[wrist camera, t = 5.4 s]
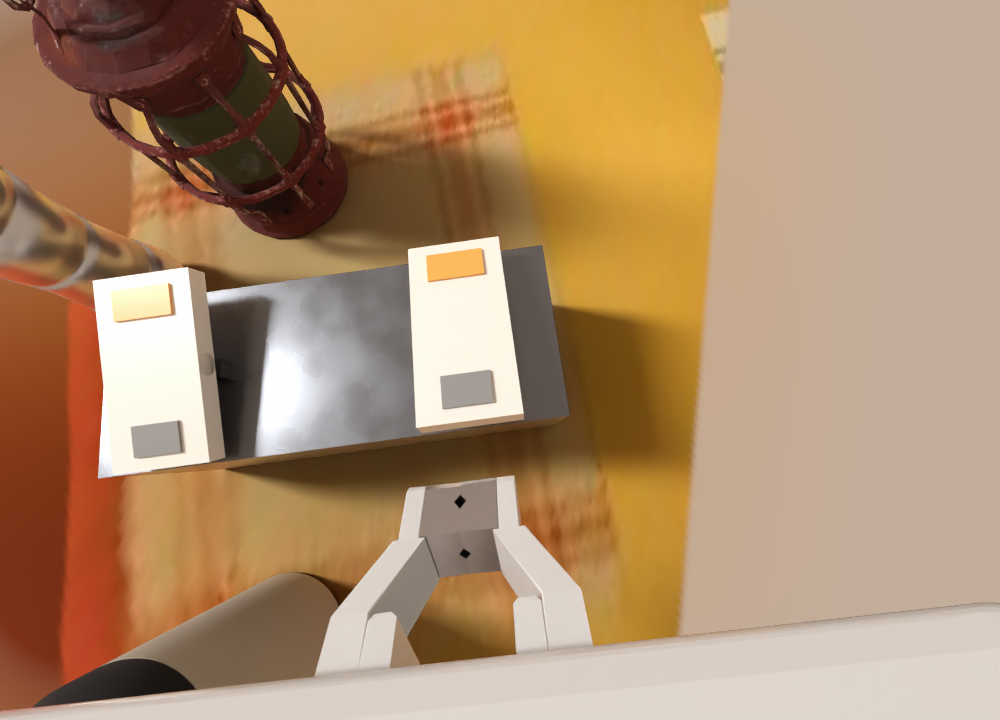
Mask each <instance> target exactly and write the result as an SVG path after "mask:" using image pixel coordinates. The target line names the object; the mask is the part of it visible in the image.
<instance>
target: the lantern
mask: <svg viewBox="0 0 1000 720" xmlns="http://www.w3.org/2000/svg"><path fill="white" fill-rule="evenodd" d="M3 1H4V2H5V3H6V4H8V5H9V6H10V7H11V8H12V9H14V10H21V11H30V10H33V11H34V16H33V21H32V24H33V36H34V44H35V46H36V48H37V50H38V52H39V54H40V56H41V58H42V61H43V63H44V65H45V66H46V67H47V68H48V69H49V70H50V71H52V72H53V73H54V74H55V75H56V76H57V77H58V78H60V79H61V80H63V81H64V82H66V83H67V84H69V85H70V86H72V87H74V88H75V89H76V90H78V91H82V92H86V93H90V94H91V97H90V105H91V108H92V110H93V113H94V115H95V117H96V118H97V119H98V120H99V121H100V122H101V123H102V124H103V125H105V126H106V128H107V129H108V130H109V131H110V132H111V133H112V134H113V135H114V136H115V137H116V138H117V139H118V140H122V141H123V142H124V143H125V144H126V145H128V146H130V147H131V148H133V149H135V150H137V151H139V152H141V153H143V154H144V155H145V156H147V157H148V158H149V159H151V160H152V161H153V162H155V163H156V164H157V165H159V166H160V167H161V168H162V169H164V170H165V171H166V172H168V173H169V174H168V175H170V176H171V177H172V179H173V180H174V181H175V182H176V183H177V184H178V185H179V186H180V187H181V188H182V189H183V190H184V189H185V190H186V191H188V192H189V193H190V194H191V195H193V196H195V197H197V198H199V199H201V200H204V201H207V202H210V203H213V204H218V205H223V206H225V207H231V208H232V209H233V210H234V211H235V213H236V214H237V216H238V217H239V218H240V220H241V221H242V222H243V223H244V224H245V225H247V226H248V227H249V228H250V229H252V230H253V231H255V232H258V233H260V234H263V235H267V236H270V237H275V238H292V237H297V236H301V235H305V234H307V233H309V232H311V231H313V230H315V229H317V228H318V227H320V226H322V225H323V224H324V223H325V222H326V221H328V220H329V219H330V218H331V217H332V216H333V214H334V213H335V212H336V211H337V209H338V208H339V207H340V205H341V203H342V200H343V197H344V195H345V192H346V189H347V169H346V165H345V161H344V159H343V158H342V156H341V154H340V152H339V151H338V150H337V149H336V148H335V146H334V145H333V144H332V143H331V142H329V141H328V139H327V137H326V135H325V134H324V132H325V128H326V126H325V124H324V114H323V110H322V106H321V103H320V101H319V99H318V97H317V95H316V94H315V92H314V91H313V89H312V88H311V84H310V83H309V82H308V81H307V80H306V79H305V78H304V77H303V75H302V74H300V72H299V71H298V69H297V67H296V66H295V64H294V62H293V60H292V59H291V57H290V55H289V54H288V52H287V50H286V45H285V42H284V39H283V37H282V35H281V33H280V30H279V29H278V27H277V26H276V24H275V23H274V22H273V17H272V16H270V15H269V14H268V13H266V11H265V9H264V8H263V6H262V5H261V3H260V2H259V1H258V0H248V1H246V0H37V4H36V8H34V7H33V5H34V3H35V0H26V1H23V0H20V1H21V2H22V3H21V4H19V3H17V2H15V1H13V0H3ZM237 8H239V9H242V10H244V11H246V12H248V13H249V14H251V15H253V16H255V17H256V18H257V19H258V20H259V21H260V22H261V23H262V24H263V26H264V27H265V29H266V30H267V32H269V33H270V35H271V37H272V38H273V40H274V43H275V47H276V51H277V57H276V56H275V55H274V53H273V52H272V51H271V50H269V49H268V48H267V47H265V46H264V45H263V44H261V43H260V42H259V41H257V40H255V39H253V38H251V37H249V36H247V35H245V34H243V27H242V25H241V22H240V20H239V17H238V15H237ZM248 45H250V46H252V47H254V48H256V49H258V50H259V51H260V52H262V53H263V54H264V55H266V56H267V57H268V58H269V60H270V61H271V63H272V64H270V63H264V62H261V61H259V60H258V58H257V57H256V55H255V54H254V53H253V51H252V50H251V48H250V47H249V46H248ZM287 63H288V64H287ZM288 65H289V66H290V68H291V70H292V71H291V70H290V69H289V67H288ZM268 73H275V75H274V78H273V79H272V78H271V76H270V75H269V74H268ZM292 81H293V82H294V83H296V84H297V85H298V86H299V87H300V88H301V89H302V90H303V92H304V93H305V95H306V96H307V98H308V100H309V102H310V104H311V113H310V112H309V110H308V108H307V107H306V105H305V103H304V101H303V100H302V98H301V96H300V95H299V93H298V91H297V90H296V88H295V86H294V84H293V83H292ZM285 84H286V85H287V87H288V88H289V90H290V91H291V93H292V95H293V96H294V98H295V99H296V101H297V102H298V104H299V106H300V107H301V109H302V110H303V112H304V113H305V115H306V117H307V118H308V120H309V121H310V123H309V122H308V121H306V120H305V119H304V118H302V117H301V116H299V115H298V114H296V113H294V112H293V110H292V109H291V107H290V105H289V103H288V101H287V99H286V98H285V96H284V95H283V94H282V90H283V87H284V85H285ZM109 98H110V99H111V98H117V99H118V100H120V101H122V102H124V103H126V104H127V105H129V106H131V107H133V108H134V109H136V110H138V111H141V112H143V113H144V116H145V118H146V121H147V123H148V126H149V128H150V130H151V132H152V134H153V135H154V137H155V139H156V141H157V142H158V143H159V144H160V145H161V146H162V147H156V146H152V145H149V144H146V143H143V142H141V141H138V140H136V139H135V138H134V137H133V136H131V135H130V134H129V133H128V132H126V131H125V129H124V128H123V127H122V126H121V125H120V123H119V122H118V121H117V120H116V118H115V117H114V115H113V113H112V110H111V107H110V102H109ZM157 126H158V127H159V128H160V129H161V130H162V131H163V135H162V134H161V132H160V131H159V129H158V127H157ZM174 142H175V143H176V144H178V145H179V146H180V147H176V146H175V145H174V144H173V143H174ZM157 157H161V158H166V163H167V165H166V164H165V163H163V162H162V161H161V160H160V159H158V158H157ZM188 158H193V159H194V160H196V161H197V162H198V163H200V164H201V165H202V166H204V167H205V168H206V169H208V170H209V171H210V172H212V175H213V177H214V180H215V182H214V181H212V180H211V179H210V178H209V177H208V176H207V175H205V174H204V173H203V172H202V171H201V170H200V169H199V168H197V167H196V166H195V165H194V164H193V163H192V162H190V160H189V159H188ZM175 160H177V161H178V162H180V163H182V164H184V165H185V166H186V167H187V168H189V169H190V170H191V171H192V172H193V173H195V174H196V175H197V176H198V177H199V178H201V179H202V180H203V181H204V182H206V183H207V184H208V185H209V186H210V187H212V188H213V189H214V190H215V191H217V192H218V193H212V192H205V191H200V190H199V189H197V188H196V187H195V186H193V185H192V183H190V182H189V181H188V180H187V179H186V178H185V176H184V175H183V174H182V173H181V172H180V170H179V169H178V167H177V164H176V162H175Z"/></svg>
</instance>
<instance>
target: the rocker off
mask: <svg viewBox="0 0 1000 720" xmlns="http://www.w3.org/2000/svg"><path fill="white" fill-rule="evenodd" d="M93 288H94V298H95V307H96V317H97V327H98V336H99V346H100V355H101V365H102V375H103V384H104V394H105V403H106V413H107V423H108V432H109V442H110V451H111V461H112V471H113V475H117V474H124V473H132V472H139V471H147V470H154V469H162V468H170V467H177V466H185V465H192V464H200V463H207V462H212V461H215V460H218V459H222V458H225V450H224V441H223V432H222V423H221V414H220V405H219V396H218V388H217V379H216V370H215V361H214V352H213V343H212V334H211V326H210V317H209V308H208V299H207V290H206V281H205V273H204V272H201V271H197V270H194V269H191V268H188V267H186V268H179V269H172V270H165V271H158V272H151V273H144V274H137V275H130V276H123V277H116V278H109V279H102V280H95V281H93Z"/></svg>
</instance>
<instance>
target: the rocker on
mask: <svg viewBox="0 0 1000 720" xmlns="http://www.w3.org/2000/svg"><path fill="white" fill-rule="evenodd" d="M408 261H409V283H410V305H411V327H412V349H413V371H414V393H415V415H416V428H417V429H418V430H419V431H420V432H421V433H428V432H435V431H443V430H450V429H458V428H465V427H473V426H480V425H488V424H495V423H503V422H510V421H518V420H524V412H523V405H522V398H521V391H520V384H519V377H518V370H517V363H516V356H515V349H514V342H513V335H512V329H511V322H510V315H509V308H508V301H507V294H506V287H505V280H504V273H503V266H502V259H501V252H500V245H499V238H498V237H491V238H483V239H476V240H469V241H462V242H455V243H448V244H441V245H434V246H427V247H420V248H413V249H408Z"/></svg>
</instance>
